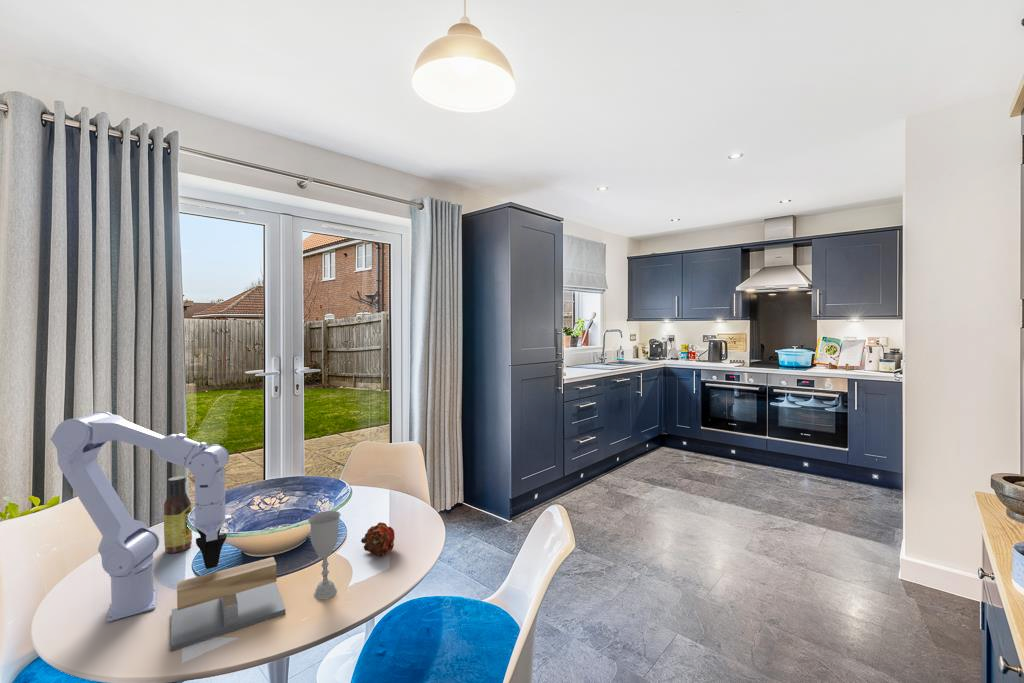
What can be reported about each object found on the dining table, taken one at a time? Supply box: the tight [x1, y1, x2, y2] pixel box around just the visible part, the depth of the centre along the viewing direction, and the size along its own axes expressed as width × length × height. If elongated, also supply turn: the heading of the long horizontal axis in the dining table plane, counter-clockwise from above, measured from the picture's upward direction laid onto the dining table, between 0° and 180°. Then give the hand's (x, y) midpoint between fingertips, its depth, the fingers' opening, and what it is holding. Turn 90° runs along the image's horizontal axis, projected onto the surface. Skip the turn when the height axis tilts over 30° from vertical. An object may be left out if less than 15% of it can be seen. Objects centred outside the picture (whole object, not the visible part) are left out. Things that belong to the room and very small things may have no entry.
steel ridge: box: [220, 594, 238, 627], centre depth 99 cm, size 13×2×4 cm, turn 36°
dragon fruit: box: [360, 522, 395, 557], centre depth 127 cm, size 8×8×12 cm
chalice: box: [307, 510, 341, 600], centre depth 107 cm, size 7×7×18 cm
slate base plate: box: [170, 582, 286, 652], centre depth 99 cm, size 14×20×1 cm
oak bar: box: [176, 556, 278, 611], centre depth 99 cm, size 4×18×4 cm, turn 126°
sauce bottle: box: [163, 475, 193, 554], centre depth 128 cm, size 7×6×20 cm
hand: (211, 559), depth 104 cm, fingers open, 7 cm apart
